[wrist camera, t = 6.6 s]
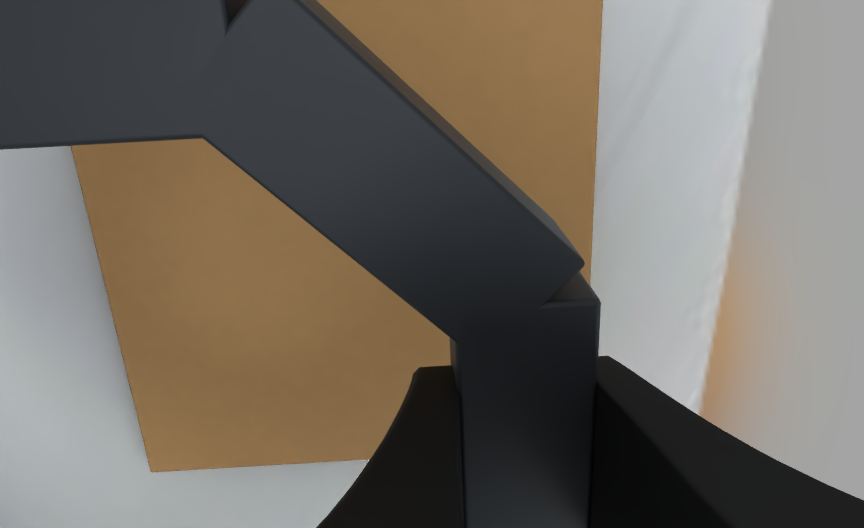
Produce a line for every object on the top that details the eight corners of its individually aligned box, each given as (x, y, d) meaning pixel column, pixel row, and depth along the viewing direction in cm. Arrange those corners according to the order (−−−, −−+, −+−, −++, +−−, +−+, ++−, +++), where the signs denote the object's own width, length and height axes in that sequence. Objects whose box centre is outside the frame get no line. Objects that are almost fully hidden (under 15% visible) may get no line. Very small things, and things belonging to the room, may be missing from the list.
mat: (580, 439, 22) (583, 447, 22) (154, 465, 22) (150, 472, 22) (607, -199, 16) (612, -205, 15) (0, -172, 16) (-10, -178, 15)
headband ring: (556, 667, 14) (579, 769, 12) (-96, 710, 14) (-178, 820, 12) (575, -49, 9) (621, -69, 7) (-447, 4, 9) (-688, -3, 7)
